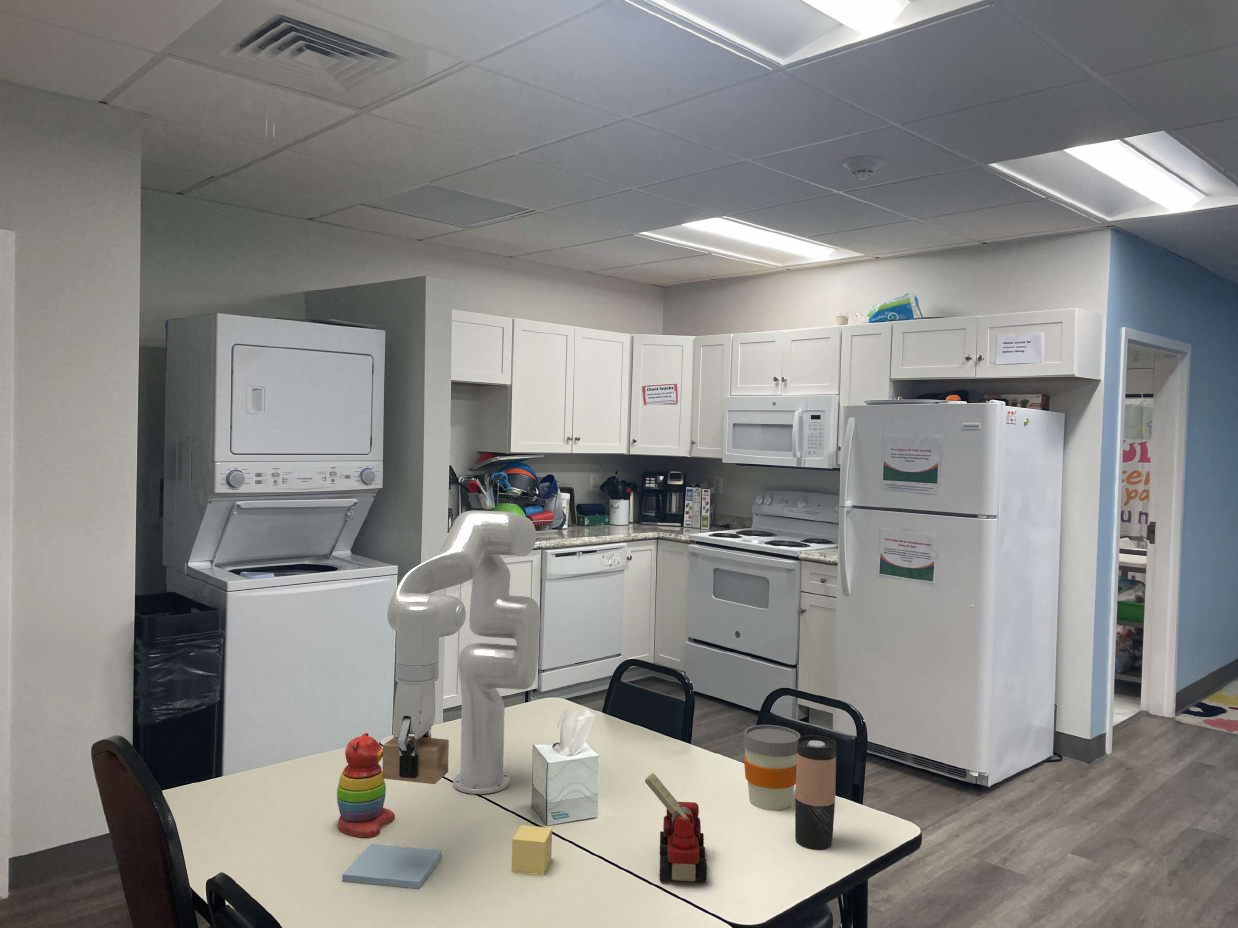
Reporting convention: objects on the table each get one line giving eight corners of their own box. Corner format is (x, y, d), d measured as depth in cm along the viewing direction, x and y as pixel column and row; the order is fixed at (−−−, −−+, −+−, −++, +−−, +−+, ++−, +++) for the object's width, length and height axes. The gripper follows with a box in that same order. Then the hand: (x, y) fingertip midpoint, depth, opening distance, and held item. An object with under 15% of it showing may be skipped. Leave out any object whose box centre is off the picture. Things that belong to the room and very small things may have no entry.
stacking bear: (373, 839, 174) (374, 748, 174) (325, 833, 176) (326, 743, 176) (398, 816, 185) (399, 730, 184) (352, 811, 187) (353, 725, 186)
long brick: (397, 766, 167) (397, 734, 167) (448, 772, 165) (448, 739, 165) (382, 778, 161) (382, 744, 161) (434, 784, 159) (435, 750, 159)
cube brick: (519, 856, 169) (520, 824, 169) (551, 859, 168) (552, 827, 168) (511, 871, 163) (512, 839, 163) (544, 875, 162) (544, 842, 162)
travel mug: (835, 836, 181) (838, 737, 180) (831, 853, 173) (834, 750, 173) (796, 830, 183) (799, 732, 182) (791, 846, 176) (794, 744, 175)
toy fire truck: (703, 848, 174) (706, 757, 174) (706, 888, 159) (709, 789, 158) (644, 845, 175) (646, 755, 174) (641, 885, 159) (644, 786, 159)
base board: (370, 849, 170) (370, 843, 170) (442, 856, 168) (442, 850, 168) (342, 880, 158) (342, 874, 158) (419, 888, 156) (419, 881, 156)
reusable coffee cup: (774, 818, 188) (776, 747, 188) (729, 799, 198) (731, 731, 197) (811, 803, 196) (813, 735, 196) (766, 785, 206) (768, 720, 205)
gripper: (412, 658, 172) (411, 752, 172) (379, 682, 155) (377, 786, 155) (451, 660, 171) (449, 754, 171) (421, 684, 154) (419, 789, 154)
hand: (415, 768), depth 163 cm, fingers closed on long brick, 6 cm apart
